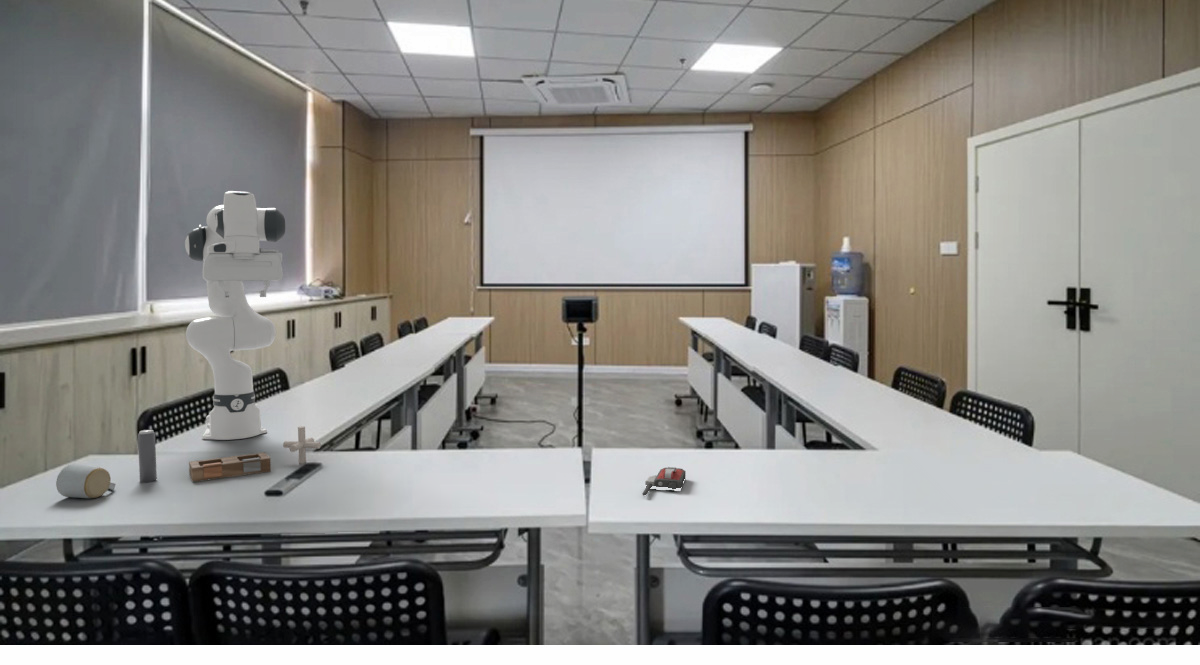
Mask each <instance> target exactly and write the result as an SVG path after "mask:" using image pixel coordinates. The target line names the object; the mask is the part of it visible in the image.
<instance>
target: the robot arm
mask: <svg viewBox="0 0 1200 665" xmlns="http://www.w3.org/2000/svg"><path fill="white" fill-rule="evenodd" d="M256 201H257V200H256V197H255V194H254V193H252V192H249V191H234V190H228V191H226V192H224V194H223V204H220V205H216V206H214V207H213V208H211V210H210V211H208V213H207V215H206V226H202V225H201V224H199V225H198V227H197V228H193V229H192V230H190V231H189V232H188V233H187V236H186V237H185V240H184V246H185V251H186V253H187V255H188V258H190V260H193V261H196V262H203V263H202V279H203V280H204V281H205V282H206V292H207V299H208V300H207V301H208V307H209V309H210V311H211V312H212V313H213V314H214V315H215V316H207V317H201V318H196V319H194V320H192V321H191V322H189V324H188V326H187V328H186V331H185V338H186V341H187V343H188V345H189V346H190V348H192V349H193V350H194V351H196V352H198V353H199V354H201V355H202V356H203V357H204V359H205V360H206V361H207V362H208V364H209V366H210V368H211V370H212V375H213V382H214V386H213V387H214V393H213V397H212V401H213V403H212V405H214V407H213V408H212V410H211V411H210V412H209V413H208V415H207V416H205V423H206V424H207V428H206V429H205V432H204V433H203V435H202V440H217V441H218V440H220V441H226V440H227V441H228V440H230V441H231V440H240V439H241V440H242V439H247V438H248V439H249V438H252V437H256V436H259V435H262V434H265V433H268V429H267V428H264V427H263V426H262V418H261V416H262V415H261V408H260V407H258V406H257V405H256V404H255V402H256V395H255V391H254V385H253V384H254V382H253V381H254V380H253V370H252V368H251V366H250V365H249V364H247V363H246V362H244V361H241V360H239V359H235V358H233V357H232V356H231V355H232V354H231V352H232V351H233V352H234V351H245V350H246V351H249V350H258V349H264V348H266V347H270V346H271V345H272V344H273V343H274V341H275V339H276V334H277V333H276V332H277V331H276V326H275V324H274V323H273V322H272V320H271V319H269V317H266V316H264V315H261V314H260V313H259V312H257V311H255V310H254V309H253V308H252V306H250V304H249V302H248V300H247V297H246V293H245V287H244V282H263V286H264V288H262V290H259V298H266V297H267V290H268V289H269V287H270V285H271V283H270V282H280V281H281V280H282V279H283V278H284V273H283V268H282V267H283V266H282V263H283V260H284V259H283V258H284V257H283V256H284V255H283V252H281V251H279V250H278V249H276V248H260V247H261V246H260V242H261V241H262V242H270V243H271V242H273V243H276V242H278V241H280V240H281V239H282V238H283V237H284V235H285V233H286V229H287V228H286V223H287V222H286V219H285V216H284V215H283V213H282V212H281V211H280V210H279V209H277V208H275V207H267V208H264V207H263V208H261V207H257V202H256Z"/></svg>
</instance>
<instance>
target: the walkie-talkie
mask: <svg viewBox="0 0 1200 665" xmlns="http://www.w3.org/2000/svg"><path fill="white" fill-rule="evenodd" d="M686 474H687V473H686V470H684V469H683V468H681V467H680V468H679V467H678V468H677V467H673V466H672V467H671V466H667V467H663V468H661V469H659V472H658V474H657V475H652V476H651V475H650V476H648V478H647V480H645V485H647V486H646V488H645V487H644V489H643V492H642V496H644V495H646V494H647V495H648V493H649V492H650V490H651V489H650V488H651V487H652V486H656V487H668V488H672V489H676V488H681V487H682V485H683V486H684V484H683V481H684V479H685V480H686ZM682 488H683V487H682ZM649 489H650V490H649ZM648 491H649V492H648ZM647 495H646V496H647Z"/></svg>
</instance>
